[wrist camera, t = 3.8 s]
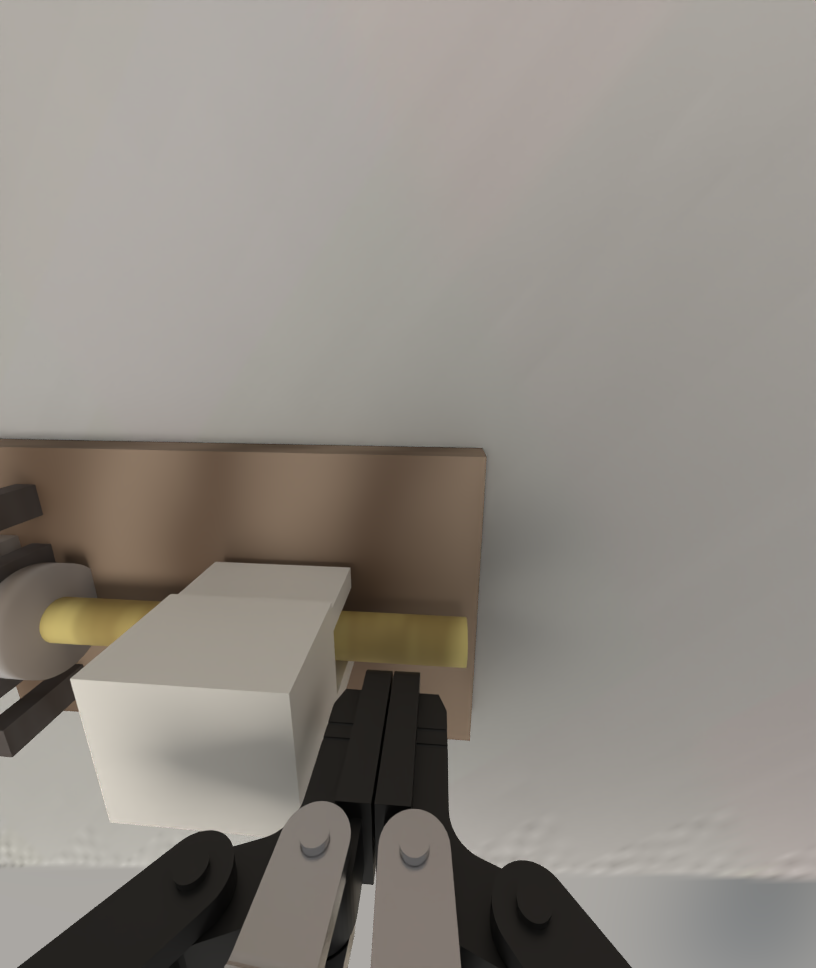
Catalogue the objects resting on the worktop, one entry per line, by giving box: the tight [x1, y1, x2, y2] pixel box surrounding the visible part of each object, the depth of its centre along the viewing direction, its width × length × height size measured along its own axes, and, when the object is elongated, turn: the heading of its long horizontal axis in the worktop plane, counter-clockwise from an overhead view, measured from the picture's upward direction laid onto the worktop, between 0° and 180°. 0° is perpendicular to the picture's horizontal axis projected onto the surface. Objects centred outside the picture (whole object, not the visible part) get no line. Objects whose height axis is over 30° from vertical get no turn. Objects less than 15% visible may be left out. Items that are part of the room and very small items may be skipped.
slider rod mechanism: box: [0, 439, 487, 757], centre depth 14 cm, size 20×12×7 cm, turn 90°
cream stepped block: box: [70, 562, 354, 837], centre depth 12 cm, size 5×4×6 cm
